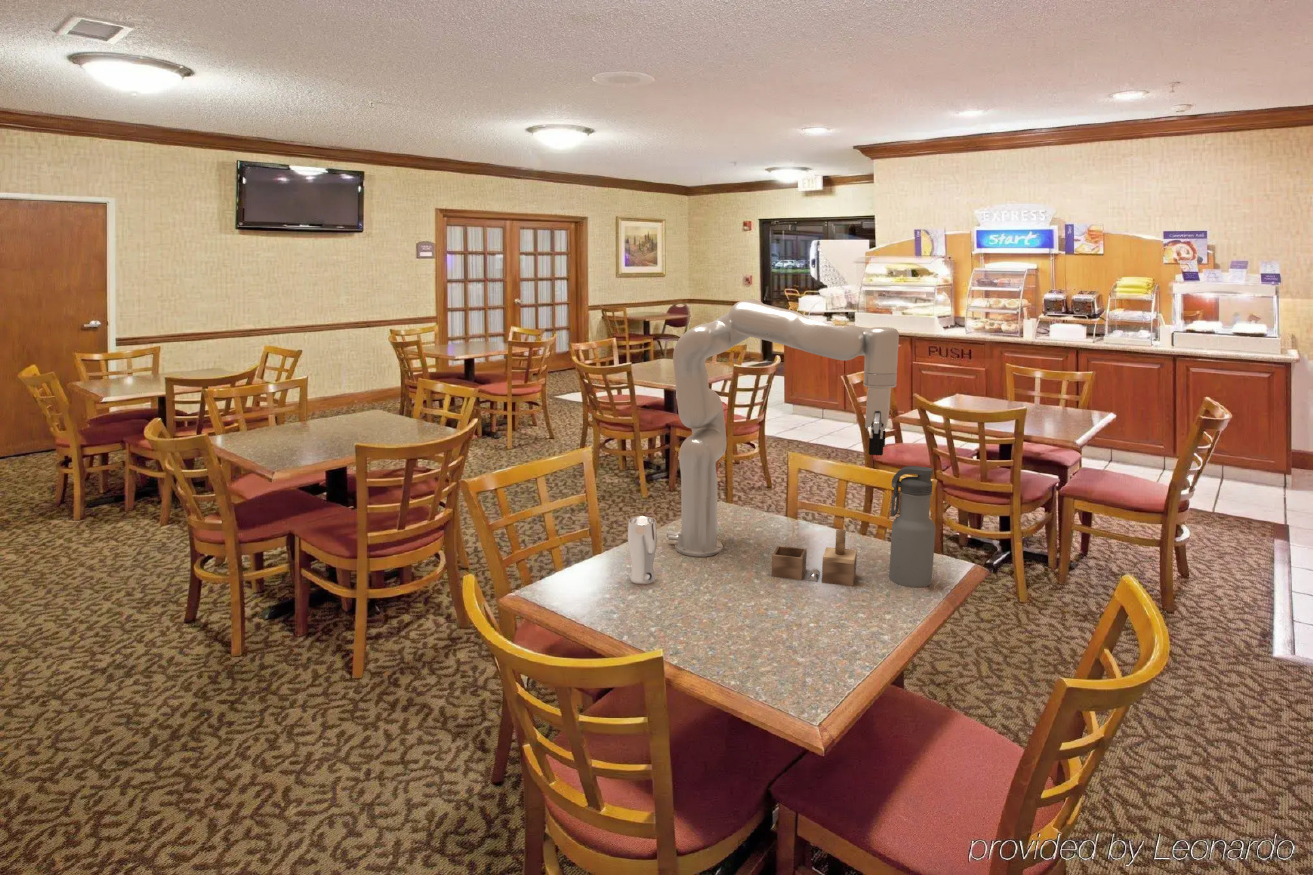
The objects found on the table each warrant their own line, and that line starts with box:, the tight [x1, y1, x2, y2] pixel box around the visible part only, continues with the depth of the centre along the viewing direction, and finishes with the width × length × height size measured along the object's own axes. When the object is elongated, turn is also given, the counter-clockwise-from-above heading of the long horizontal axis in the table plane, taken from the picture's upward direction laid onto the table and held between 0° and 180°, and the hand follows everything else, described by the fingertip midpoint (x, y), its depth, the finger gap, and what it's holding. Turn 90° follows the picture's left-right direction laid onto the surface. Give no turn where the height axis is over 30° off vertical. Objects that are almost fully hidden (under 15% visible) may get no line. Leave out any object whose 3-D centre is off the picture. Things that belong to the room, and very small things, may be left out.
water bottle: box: [888, 465, 936, 588], centre depth 188 cm, size 10×10×28 cm
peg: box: [808, 568, 821, 583], centre depth 192 cm, size 5×2×2 cm, turn 161°
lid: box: [822, 528, 858, 564], centre depth 190 cm, size 7×7×7 cm
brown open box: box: [771, 545, 808, 581], centre depth 195 cm, size 7×7×6 cm
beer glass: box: [627, 516, 658, 585], centre depth 191 cm, size 7×7×15 cm
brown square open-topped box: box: [821, 553, 858, 587], centre depth 191 cm, size 7×7×6 cm
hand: (876, 450), depth 192 cm, fingers open, 9 cm apart
